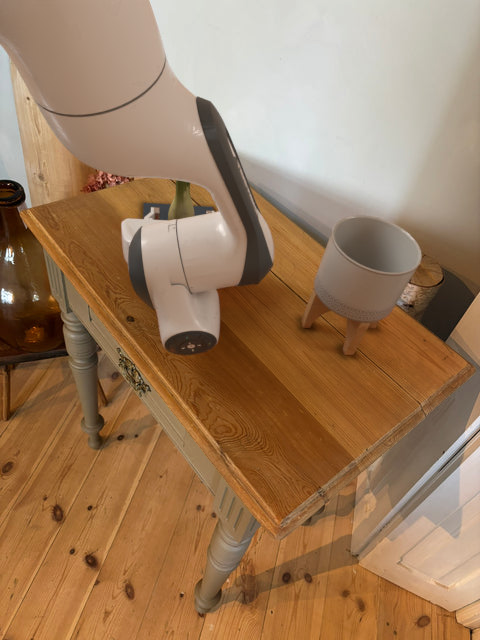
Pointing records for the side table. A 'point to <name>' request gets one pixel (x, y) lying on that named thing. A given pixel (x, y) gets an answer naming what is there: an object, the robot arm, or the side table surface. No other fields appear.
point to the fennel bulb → (181, 202)
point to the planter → (362, 274)
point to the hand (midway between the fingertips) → (182, 212)
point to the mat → (165, 208)
